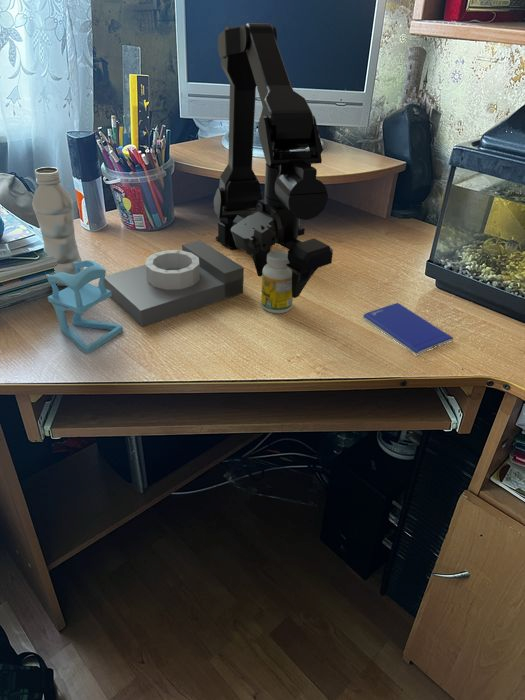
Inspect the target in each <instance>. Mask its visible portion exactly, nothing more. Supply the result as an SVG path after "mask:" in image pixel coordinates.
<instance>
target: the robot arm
mask: <svg viewBox="0 0 525 700" xmlns="http://www.w3.org/2000/svg"><path fill="white" fill-rule="evenodd" d="M277 41H278V35H277V28H276V26H275V25H272V24H271V23H262V22H261V23H255V22H254V23H252V22H251V23H250V22H247V23H246V24H243V25H240V26H225V28H224V30H223V31H222V32H221V33H219V35H218V38H217V50H218V51H217V52H218V57H219V59H220V64H221V65H220V66H221V68H222V70H223V72H224V74H225V75H226V77H227V80H228V81H229V111H228V112H229V113H228V116H229V117H228V118H229V119H228V158H227V159H228V161H227V162H228V163H227V165H226V167H225V168H224V169H223V171H222V173H221V174H220V176H219V185H218V186H219V187H218V188H217V189H216V192H215V194H214V198H213V211H214V213H215V215H216V216H217V217H218V219H219V220H218V222H217V236H215V240H216V241H218V242H219V243H221V244H222V245H224V246H226V247H227V248H229V249H231V250H235V249H240V250H242V251H244V252H245V253H246V254H247V255H249V256H251V257H252V261H253V264H254V269H255V271H256V273H257V276H258V277H262V271H263V268H264V266H265V265H266V264H268V263H267V254H268V253H269V252H271V249H272V247H273V246H274V245H275V244H276V245H277V244H278V245H280V246H281V247H283V248H285V249H287V250H288V251H287V252H288V257H287V258H288V260H289V264H286V265H287V267H288V268H289V269H290V270H291V271H292V297H293V299H297V298H298V297H300V295H301V293H302V291H303V290H304V288H305V287H306V285H307V283H308V282H309V281H310V279H311V277H312V276H313V275H314V273H315V272H316V271H317V270H318V268H321V267H325V266H327V265H330V264H332V261H333V255H334V254H333V253H334V250H333V248H332V247H331V246H330V245H328V244H326V243H324V242H322V241H321V240H319V239H317V238H312V239H309V240H308V239H307V240H305V241H302V240H300V239H298V238H299V237H300V236H303V235H305V230H306V228H305V227H303V226H301V225H300V221H301V220H304V221H307V220H312V219H315V218H316V217H317V216H319V215H320V214H321V213H322V212H323V211H324V210H325V208H326V206H327V204H328V200H329V194H328V191H327V190H328V189H327V187H326V185H325V184H324V183H323V182H322V181H321V180H320V179H319V178H318V177H317V173H318V172H317V171H318V170H317V169H316V168H315V167H314V166H312V165H313V164H322V161H323V160H322V152H323V151H324V149H323V143H322V141H321V135H320V132H319V131H320V130H319V127H318V124H317V120H316V117H315V116H314V114H313V112H312V109H311V107H310V106H309V104H308V102H307V100H306V98H305V97H304V96H303V95H301V94H299V93H298V92H296V90H294V88H293V87H292V83H291V81H290V78H289V75H288V72H287V69H286V66H285V62H284V60H283V57H282V55H281V52H280V48H279V45H278V43H277ZM256 90H257V93H258V96H259V99H260V102H261V106H262V109H261V114H260V118H259V120H258V127H257V128H258V138H259V143H260V145H261V149H262V152H263V155H264V160H265V174H264V175H265V176H264V193H263V192H262V189H261V183H260V181H259V179H258V178H257V176H256V174H255V171H253V154H254V135H255V134H254V132H255V131H254V130H255V113H256V111H255V110H256ZM307 148H308V149H309V150H306V149H307ZM293 150H294V151H293ZM263 194H264V195H263ZM263 197H264V198H263Z"/></svg>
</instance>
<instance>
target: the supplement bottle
mask: <svg viewBox="0 0 525 700" xmlns="http://www.w3.org/2000/svg"><path fill="white" fill-rule="evenodd" d="M287 257H288V251H285V250H277V249H276V250H272V251H271V250H270V252H269V253H268V254H267V264H266V265H265V266H264V268H263V271H262V276H261V277H262V278H261V280H262V281H261V299H260V300H261V301H260V303H261V307H262V309H263V310H265V311H266V312H268V313H271V314H283V313H286V312H287V313H288V312H289V311H290V310H291V309H292V307H293V302H294V301H293V299H294V298H293V297H292V271H291V270H290V269H289V268H288V267H287V265H286V264H289V260H288V258H287Z"/></svg>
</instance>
